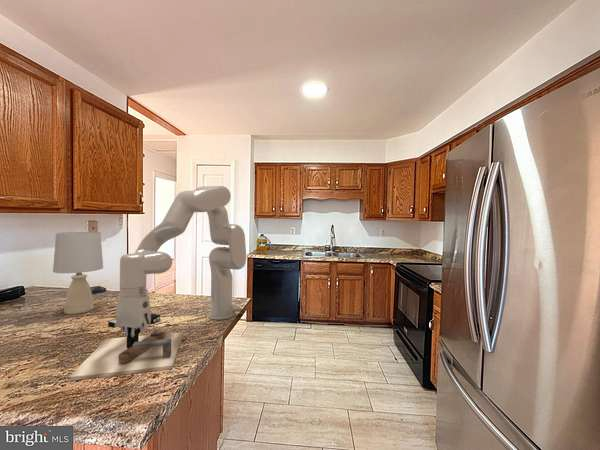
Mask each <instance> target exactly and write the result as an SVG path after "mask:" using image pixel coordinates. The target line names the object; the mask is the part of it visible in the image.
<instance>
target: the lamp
mask: <svg viewBox="0 0 600 450" xmlns="http://www.w3.org/2000/svg"><path fill="white" fill-rule="evenodd" d="M54 242H55V243H54V255H53V266H52V267H53V268H52V273H55V274H74V275H72V276H70V278H71V279H72V280H71V282H70V285H69V286H68V290H67V292H66V294H65V295H66V296H65V300H64V308H63V312H64V314H65V315H79V314H85V313H88V312H91V311H92V310H94V308H95V304H94V299H93V297H94V296H93V294H92V292H91V289H90V287H91V286H90V284H89V281H87V277H88V274H85V273H88V272H94V271H95V272H96V271H100V270H103V269H104V261H103V260H104V259H103V248H102V244H103V243H102V235H101V232H100V231H99V232H98V231H68V232H66V231H65V232H64V231H63V232H55V241H54ZM83 273H84V274H83Z"/></svg>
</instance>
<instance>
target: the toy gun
mask: <svg viewBox="0 0 600 450" xmlns="http://www.w3.org/2000/svg"><path fill="white" fill-rule="evenodd" d="M160 321H161V314H158V313H157V314H156V313H151V322H150V323H149V324H157V323H159V322H160ZM107 326H108V327H109V328H116V327H118V324H117V323H116V319H115V320H111V321H107Z"/></svg>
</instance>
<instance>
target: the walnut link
mask: <svg viewBox="0 0 600 450" xmlns="http://www.w3.org/2000/svg"><path fill="white" fill-rule="evenodd" d="M165 334H166V331H163V330H161V333H160V334H157V335H154V334H153V332H152V333H150V334H149V335H150V336H149V337H147V338H145V339H144V340H142V341H149V340H160V339H164V338H165ZM148 348H149V347H144V348H133V349H132V347H130V348H129V349H127V350H125V351H124V352H122V353H120V354H119V363H126V362H128V361H130V360H131V359H133V358H134V357H136V356H137V355H139V354H140V353H142V352H143V351H145V350H146V349H148Z"/></svg>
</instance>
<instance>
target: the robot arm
mask: <svg viewBox="0 0 600 450" xmlns="http://www.w3.org/2000/svg"><path fill="white" fill-rule="evenodd" d="M231 195H232V194H231V191H230V189H228V187H227V186H224V185H207V186H198V187H196V188H195V189H194V190H184V191H180V192H179V193H177V195H176V196H175V198H174V200H173V201H172V204H171V205H170V207H169V209H168V210H167V213H166V214H165V216H164V218H163V220H162V221H161V222H160V223H159V224H158V225H157V226H155V227H154V228H153V229H152V230H151V231H150V232H149V233H148V234H146V235H145V236H144V238H143V239H142V240H141V241H140V243H139V244H138V247H137V248H136V250H135V252H134V253H126V254H123V255H121V257H120V258H119V296H118V299H117V303H116V311H115V320H116V323H117V324H118V326H117V327H118V329H120V330H123V332H124V337H127V348H128V349H129V348H130V347H132V345H133V344H134V342H138V340H139V336H140V334H141V333H142V332H146V331H147V330H148V325H150V324H151V323H150V322H151V314H152V311H151V302H150V297H149V294H148V292H149V290H148V288H147V275H151V274H153V275H157V274H158V275H159V274H163V273H166V272H168V271H169V270H171V267H172V266H173V258H172V257H171V255H169V254H168V253H166V252H163V251H158V250H160V248H161V247H162V246H163V245H164V244H165V243H166V242H168V241H169V240H172V239H174V238H176V237H178V236H180V235H183V234H184V233H185V231H186V229H187V227H188V225H189V223H190V221H191V220H192V217H193V216H194V213H206V214H207V216H208V225H209V236H210V240H211V242H212V243H213V244H215V245H219V246H217V247H214V248H213V249H211V250H210V252H209V255H208V262H209V267H210V310H209V311H208V312H207V313H206V316H207V318H208V319H210V320H216V321H218V320H219V321H221V320H227V319H230V318H231V319H232V318H234V317H235V316H236V312H241V311H243V306H240V305H234V303H233V281H234V280H233V273H232V270H236V271H237V270H241V269H243V268H244V267H245V266H246V263H247V249H246V248H247V247H246V235H245V232H244V229H243V228H242V227H241V226H240V225H239V224H235V223H230V222H229V214H228V210H227V208H226V206H227V205H228V204H229V203H230V201H231ZM226 246H228V247H226Z"/></svg>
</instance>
